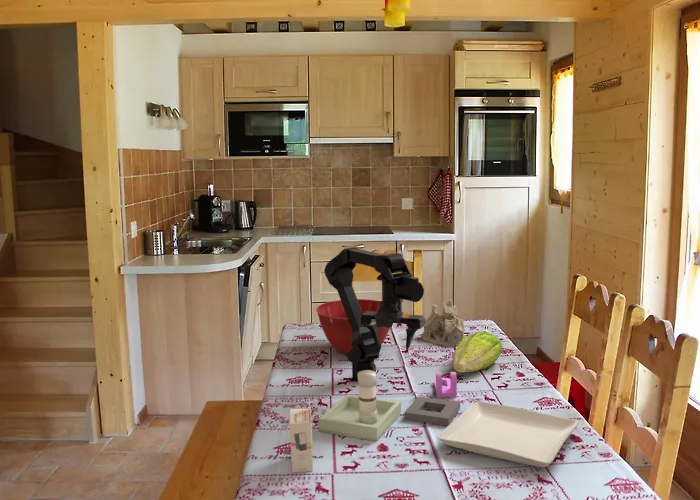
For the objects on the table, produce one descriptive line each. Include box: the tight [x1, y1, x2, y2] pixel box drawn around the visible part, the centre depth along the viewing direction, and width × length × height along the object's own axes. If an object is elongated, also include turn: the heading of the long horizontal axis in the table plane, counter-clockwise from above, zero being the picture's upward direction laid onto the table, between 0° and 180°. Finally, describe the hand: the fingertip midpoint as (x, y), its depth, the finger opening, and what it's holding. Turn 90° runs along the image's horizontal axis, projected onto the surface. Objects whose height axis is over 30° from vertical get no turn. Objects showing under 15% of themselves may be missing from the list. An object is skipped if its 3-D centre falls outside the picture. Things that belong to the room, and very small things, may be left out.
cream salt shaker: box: [357, 370, 377, 425], centre depth 173 cm, size 5×5×13 cm
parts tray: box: [318, 394, 402, 442], centre depth 175 cm, size 16×18×4 cm
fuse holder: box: [403, 396, 461, 427], centre depth 180 cm, size 12×12×2 cm
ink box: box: [289, 398, 314, 473], centre depth 152 cm, size 9×5×15 cm, turn 5°
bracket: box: [433, 371, 458, 399], centre depth 197 cm, size 13×6×7 cm, turn 178°
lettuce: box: [452, 330, 503, 373], centre depth 215 cm, size 12×24×13 cm
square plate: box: [436, 401, 580, 468], centre depth 163 cm, size 27×27×4 cm
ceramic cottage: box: [421, 298, 466, 347], centre depth 246 cm, size 16×16×15 cm
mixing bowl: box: [315, 298, 391, 355], centre depth 238 cm, size 28×28×16 cm
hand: (392, 348), depth 196 cm, fingers open, 9 cm apart
